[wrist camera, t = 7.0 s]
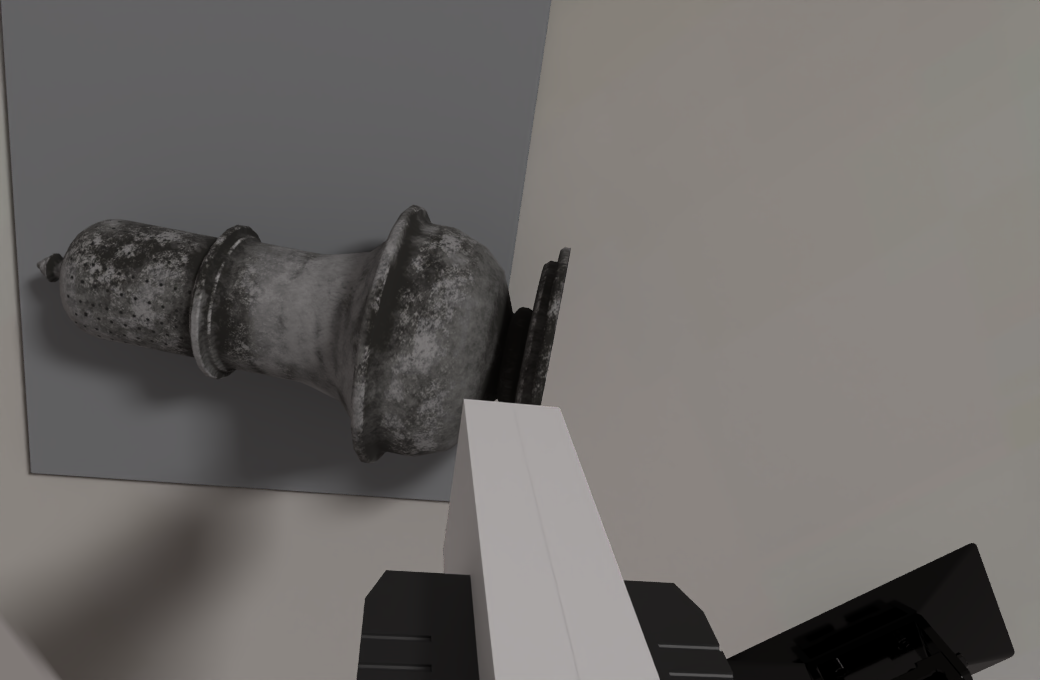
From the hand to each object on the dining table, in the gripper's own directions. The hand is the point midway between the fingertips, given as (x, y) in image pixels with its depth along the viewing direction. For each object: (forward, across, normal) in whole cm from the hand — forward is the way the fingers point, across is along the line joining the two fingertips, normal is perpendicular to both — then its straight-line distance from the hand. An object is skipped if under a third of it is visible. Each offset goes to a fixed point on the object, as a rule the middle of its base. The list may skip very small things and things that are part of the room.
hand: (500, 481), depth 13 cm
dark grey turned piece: (+5, -2, 0) cm, 6 cm away
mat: (+9, +5, -2) cm, 11 cm away
